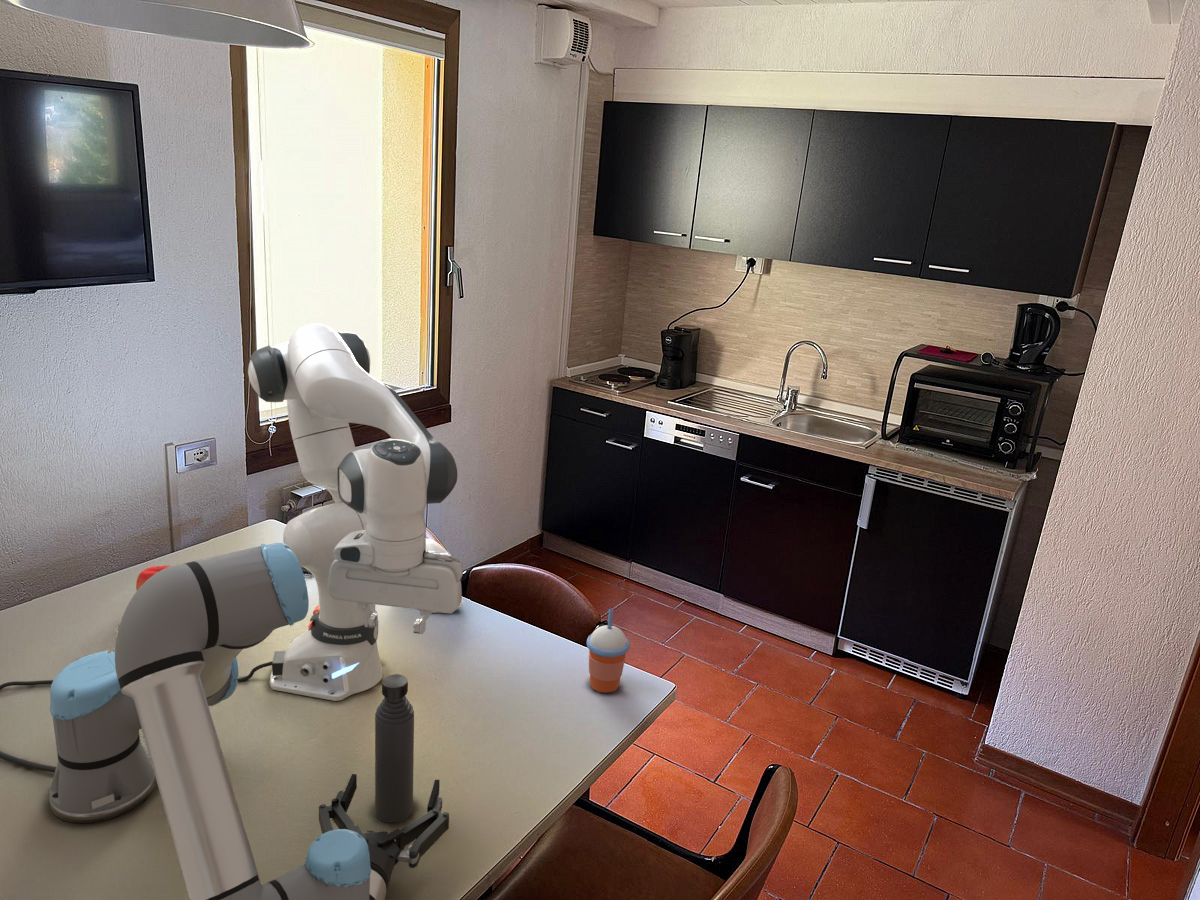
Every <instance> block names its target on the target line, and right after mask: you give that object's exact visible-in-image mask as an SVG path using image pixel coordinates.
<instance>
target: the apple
mask: <svg viewBox="0 0 1200 900" xmlns="http://www.w3.org/2000/svg"><path fill="white" fill-rule="evenodd" d="M170 566H171V565H167V564H166V565H165V564H164V565H152V566H149V567H147V568H144V569H143V570H142V571H140V573H138V575H137V578H136V582H135V589H136V591H137V590H138V589H139V588H140V587H141V586H142V585H143V584H144V583H145V582H146V581H147V580H148V579H149V578H150V577H152V576H153V575H154V574H156V573H157V572H159V571H161V570H163V569H165V568H167V567H170Z"/></svg>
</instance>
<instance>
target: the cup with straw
mask: <svg viewBox="0 0 1200 900" xmlns="http://www.w3.org/2000/svg"><path fill="white" fill-rule="evenodd" d="M613 617H614V609H613V608H609V609H608V617H607V624H605V625H601V626H598V627H597V628H596V629H594V630H593V632H592V633H591V634H590V635H588V637H587V639H586V647H587V649H588V672H589V684H590V687H591V688H592V689H593V690H594V691H596V692H598V693H604V694H606V693H613V692H615V691H617V690H618V688H619V687H620V681H621V678H622V675H623V672H624V671H623V670H624V666H625V661H626V654H627V652H629V649H630V641H629V639H628V638H627V636H626V635H625V633H624V632H623V631H622V630H621V629H620V628H618V627H617V626H615V625H613Z"/></svg>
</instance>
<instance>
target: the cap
mask: <svg viewBox="0 0 1200 900" xmlns="http://www.w3.org/2000/svg"><path fill="white" fill-rule="evenodd" d="M408 692H409V681H408V678H407V677H406V675H403V674H400V673H395V674H394V673H393V674H389V675H387V676H385V677H383V678H382V680H381V694H382V696H383V698H384V697H385V698H388V699H400V698H402V697H404V696H407V694H408Z"/></svg>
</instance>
